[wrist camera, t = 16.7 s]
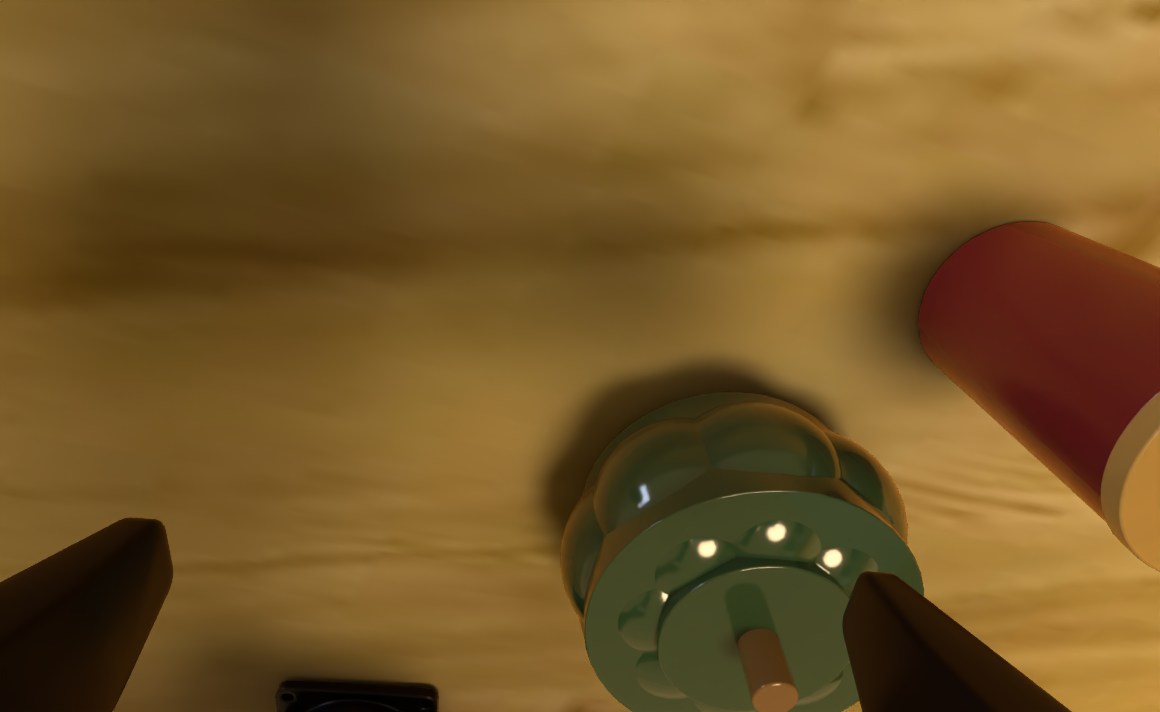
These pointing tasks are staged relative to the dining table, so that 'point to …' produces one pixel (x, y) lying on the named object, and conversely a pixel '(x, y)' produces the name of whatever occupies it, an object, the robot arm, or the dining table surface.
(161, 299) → the dining table surface
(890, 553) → the lidded pot
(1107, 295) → the tea canister
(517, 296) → the dining table surface
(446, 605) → the dining table surface
